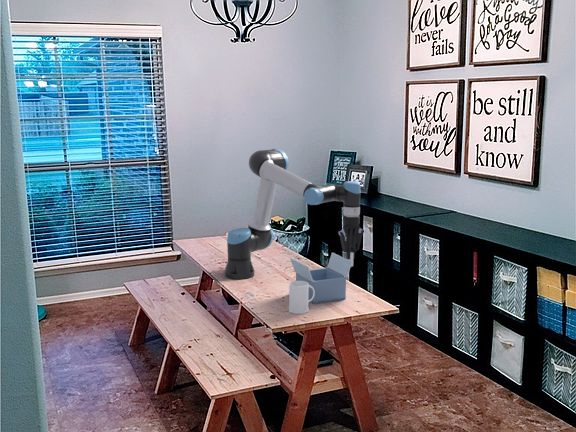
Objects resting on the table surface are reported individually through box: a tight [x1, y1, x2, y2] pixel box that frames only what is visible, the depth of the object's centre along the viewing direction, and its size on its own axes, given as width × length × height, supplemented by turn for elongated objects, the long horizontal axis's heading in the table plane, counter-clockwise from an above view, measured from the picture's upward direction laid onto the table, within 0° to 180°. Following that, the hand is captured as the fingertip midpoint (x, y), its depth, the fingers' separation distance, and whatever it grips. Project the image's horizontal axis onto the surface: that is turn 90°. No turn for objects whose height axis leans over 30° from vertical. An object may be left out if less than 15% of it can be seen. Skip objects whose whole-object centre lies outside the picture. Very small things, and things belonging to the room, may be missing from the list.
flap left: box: [289, 256, 314, 282], centre depth 268 cm, size 7×18×1 cm
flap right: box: [326, 252, 352, 278], centre depth 276 cm, size 7×18×1 cm
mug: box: [288, 280, 315, 315], centre depth 255 cm, size 12×8×12 cm
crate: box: [295, 267, 347, 305], centre depth 274 cm, size 16×18×10 cm
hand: (350, 265), depth 279 cm, fingers closed
